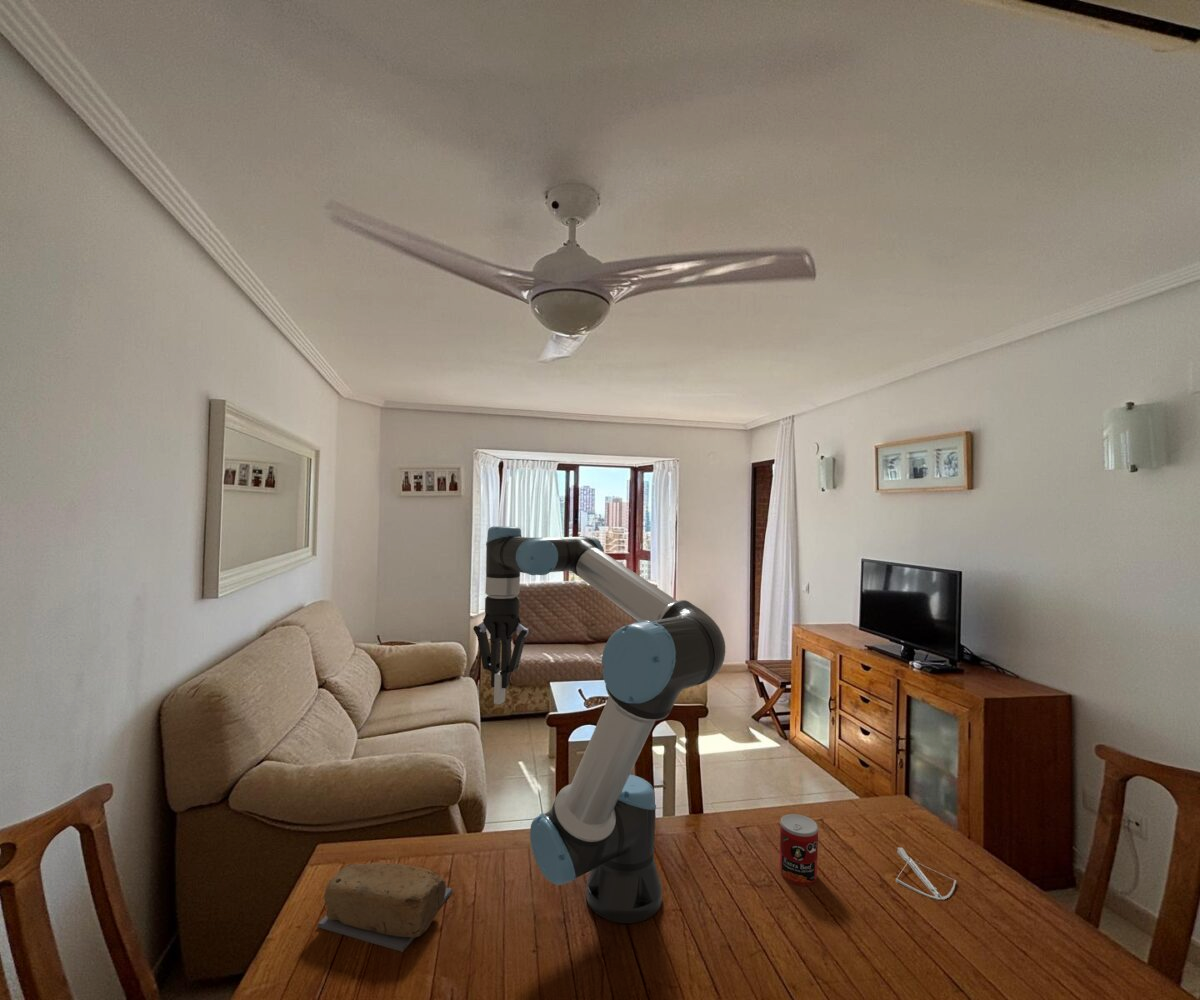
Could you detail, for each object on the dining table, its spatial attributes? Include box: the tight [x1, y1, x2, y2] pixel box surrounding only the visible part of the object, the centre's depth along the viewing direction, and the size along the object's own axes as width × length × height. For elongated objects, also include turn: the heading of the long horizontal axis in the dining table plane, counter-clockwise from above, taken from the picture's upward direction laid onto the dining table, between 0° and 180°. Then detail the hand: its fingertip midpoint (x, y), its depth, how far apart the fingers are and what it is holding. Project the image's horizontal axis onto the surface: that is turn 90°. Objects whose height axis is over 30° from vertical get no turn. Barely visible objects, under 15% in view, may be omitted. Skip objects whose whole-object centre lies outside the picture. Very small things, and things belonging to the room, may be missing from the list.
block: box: [324, 862, 447, 939], centre depth 106 cm, size 11×8×20 cm
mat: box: [317, 887, 453, 953], centre depth 109 cm, size 18×16×1 cm
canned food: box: [779, 813, 819, 886], centre depth 122 cm, size 8×8×11 cm
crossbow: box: [895, 847, 957, 901], centre depth 123 cm, size 16×13×2 cm
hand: (499, 701), depth 126 cm, fingers closed
